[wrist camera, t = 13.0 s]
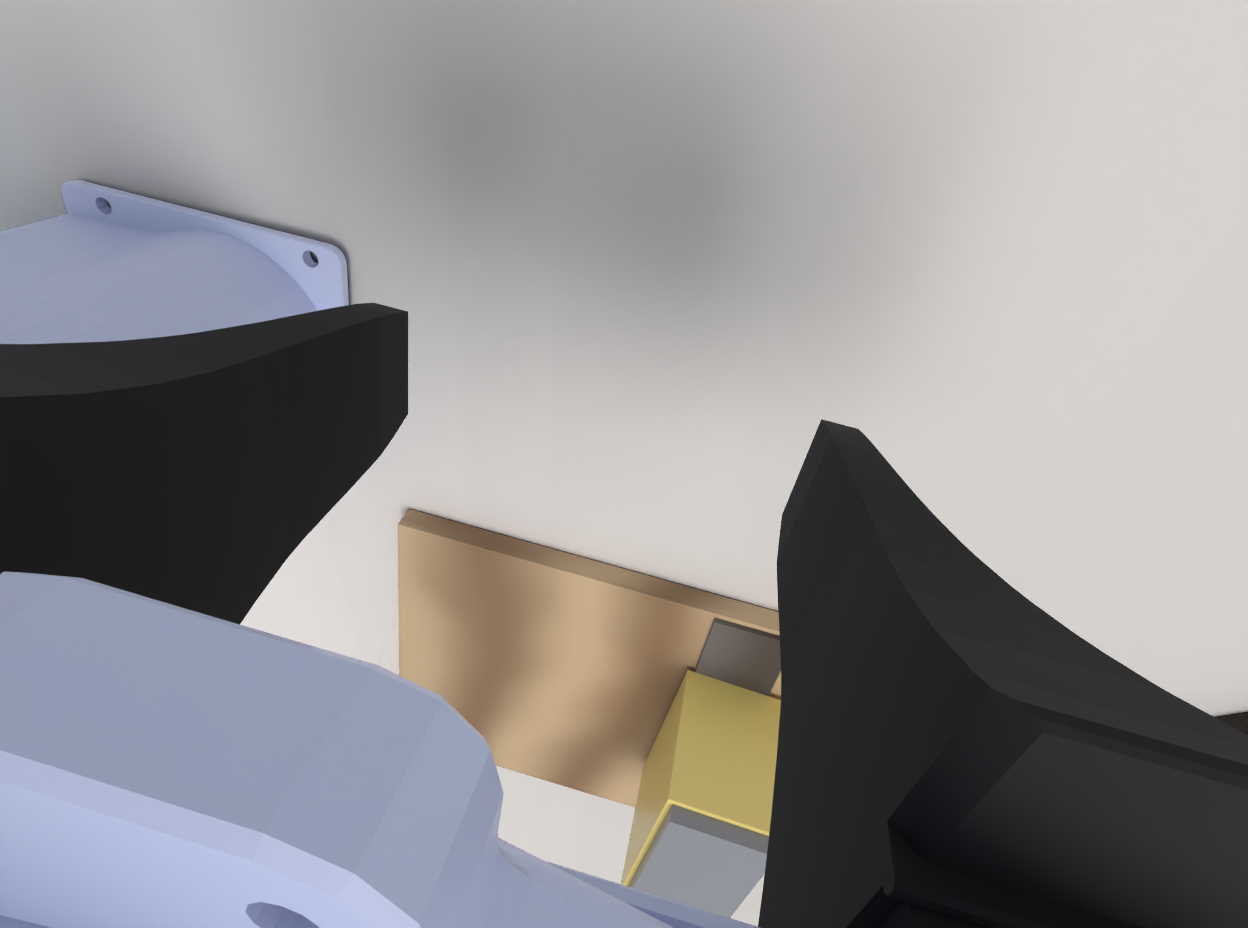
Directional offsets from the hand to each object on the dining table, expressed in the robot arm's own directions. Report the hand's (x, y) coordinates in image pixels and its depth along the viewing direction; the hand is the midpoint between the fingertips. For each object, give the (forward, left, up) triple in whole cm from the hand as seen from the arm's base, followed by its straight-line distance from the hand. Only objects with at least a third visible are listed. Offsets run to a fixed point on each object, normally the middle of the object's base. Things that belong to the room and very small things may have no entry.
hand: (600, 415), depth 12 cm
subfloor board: (+2, -19, -9) cm, 21 cm away
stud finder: (+6, -19, -8) cm, 21 cm away
